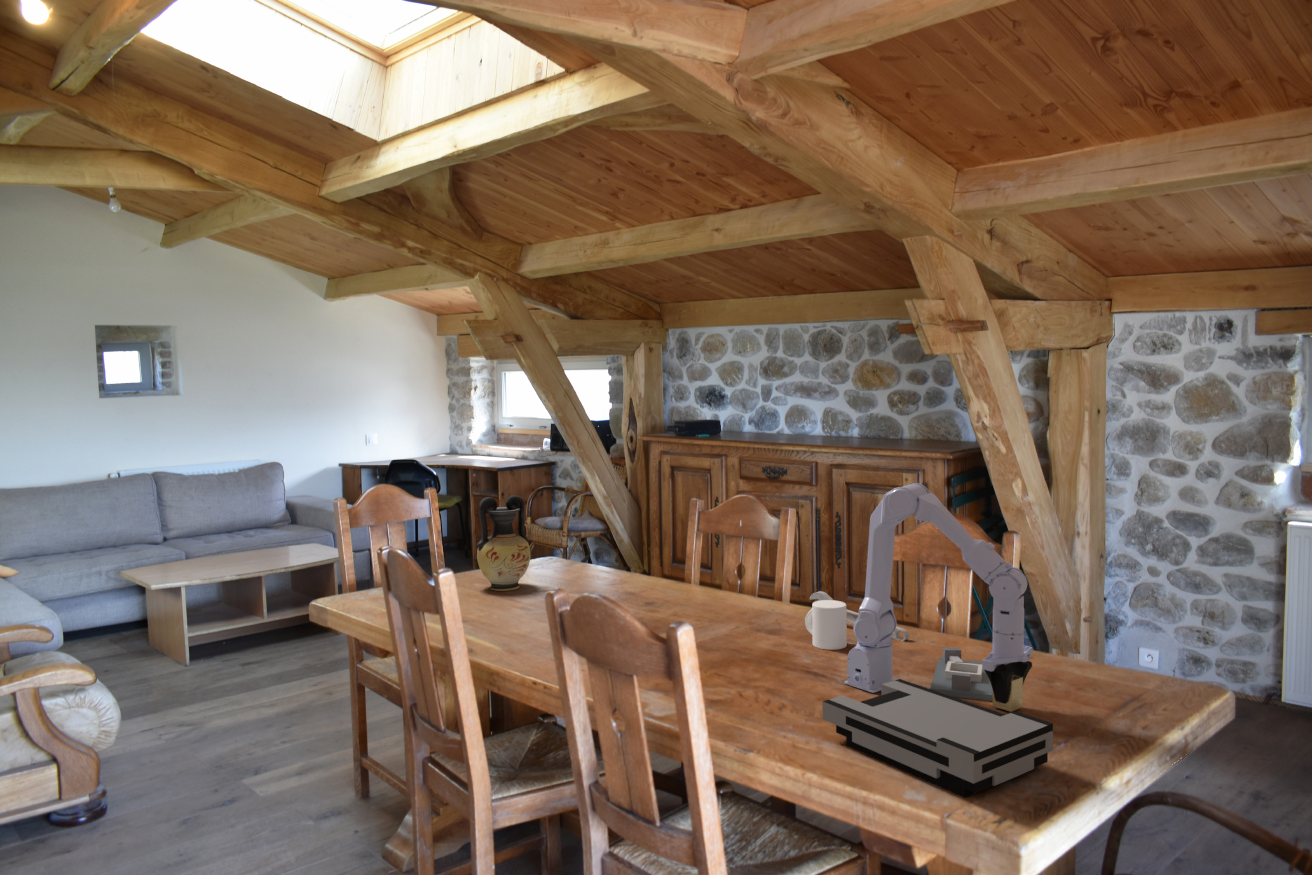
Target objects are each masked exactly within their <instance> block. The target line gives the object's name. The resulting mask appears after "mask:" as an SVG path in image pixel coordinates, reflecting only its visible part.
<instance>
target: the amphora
mask: <svg viewBox="0 0 1312 875" xmlns="http://www.w3.org/2000/svg"><path fill="white" fill-rule="evenodd" d="M517 512H518V514H517ZM478 513H479V514H478V516H479V521H480V530H481V538H480V540H479V541H478V542H477V543H476V548H477V552H476V559H477V564H478V566H479V570H480V571H481V573H482V575H483V576H484V578H486V579H487V581H489V583H490V585H491V586H490V590H493V591H497V592H500V591H501V592H506V591H515V590H517V589H519V588H520V586H521V585H520V583H519V581H520V580H521V578H522V577H524V575H525V574H526V572H527V570H528V568H529V565H530V562H531V548H530V545H529V538H528V537H527V536H526V535H525V501H524V499H523V498H522V497H521V496H520V495H515V494H513V495H510V496H509V497H507V498H506V500H505V506H502V507H498V501H497V500H496V499H495V497H491V496H487V497H484V498H482V499H481V501H480V502H479V504H478ZM486 514H488V517H489V519H490V521H492V524H493V531H492V533H491V534H490V536H489V534H488V533H489V531H488V524H487V523H488V522H487V515H486ZM516 517H517V534H516V533H515V531H514V526H513V523H514V522H513V521H514V520H515V518H516Z"/></svg>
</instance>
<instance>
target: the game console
mask: <svg viewBox="0 0 1312 875" xmlns="http://www.w3.org/2000/svg"><path fill="white" fill-rule="evenodd" d="M880 693H881V695H878V696H875V697H871V698H868V699H865V700H862V701H859V700H856V699H854V698H851V697H848V696H846V695H839V696H836V697H833V698H830V699H826V700H823V701H822V720H824V721H825V722H828V723H830V724H832V725H835V733H836V734H839V735H841V736H843V737H845V738H846V740H845V743H846V744H845V745H846V746H847V747H849V748H851V749H854V750H856V751H858V752H860V753H863V754H865V755H867V756H869V757H871V758H874V759H876V760H878V761H881V762H883V763H885V764H888V765H890V766H892V767H894V768H896V769H899V770H900V771H902V772H903V771H904V772H905V773H908V774H910V775H912V776H914V777H917V778H919V779H921V780H924V781H925V782H928V783H930V784H932V785H933V786H934V785H935V786H937V787H938V788H941V789H943V790H946V791H947V792H950V793H953V794H955V795H957V796H960V797H961V798H967V797H969V796H972V795H974V794H976V793H979V792H981V791H984V790H986V789H989V788H990V787H992V786H993V787H996V786H997V785H1000V784H1002V783H1004V782H1008V781H1009V780H1012V779H1014V778H1016V777H1019V776H1022V775H1024V774H1026V773H1028V772H1030V771H1032V770H1034V769H1035V768H1037V767H1039V766H1041V765H1043V764H1046V763H1048V757H1049V756H1048V753H1050V752H1053V745H1054V740H1053V739H1054V723H1052V722H1050V721H1046V720H1044V719H1040V718H1038V717H1034V716H1031V715H1029V714H1026V713H1022V712H1020V711H1017V710H1014V711H1012V712H1009V713H1007V714H1005V713H1002V712H999V711H997V710H996V711H995V710H993V709H990V708H987V707H984V706H981V705H979V704H975V703H973V702H969V701H966V700H963V699H961V698H959V697H952V696H949V695H946V694H943V693H940V692H937V691H934V690H931V689H930V688H927V687H925V686H923V685H922V686H921V685H918V684H916V683H913V682H910V681H907V680H905V679H901V678H899V679H898V678H897V679H895V680H894V681H891V682H887V683H884V684H881V691H880Z"/></svg>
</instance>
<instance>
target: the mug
mask: <svg viewBox="0 0 1312 875" xmlns="http://www.w3.org/2000/svg"><path fill="white" fill-rule="evenodd" d="M811 606H812V608H811V609H810V610H809V611H808V612H807V613H806V615H805V618H804V625H805V628H806V630H807V632H809V634H811V635H812V645H813V647H815V648H817V649H820V650H827V651H828V650H829V651H835V650H838V651H839V650H841V649H844V648H846V647H847V646H848V645H847V641H848V638H847V631H848V630H847V628H848V627H847V626H848V624H847V623H848V622H847V609H848V608H847V604H846V602H844V601H840V600H834V599H833V600H820V601H819V600H815V601H813V602H812V605H811Z"/></svg>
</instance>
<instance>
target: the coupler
mask: <svg viewBox="0 0 1312 875" xmlns="http://www.w3.org/2000/svg"><path fill="white" fill-rule="evenodd" d="M1023 689H1024V684H1023V677H1021V676H1017V675H1014V674H1013V676H1012V679H1011V682H1010V686H1009V695H1008V700H1007V703H1005V704H1004V703H1000V702H997V701H995V697H994V693H993V696H992V701H991V703H992V707H993V708H994V707H995V708H997V709H1000V710H1004V711H1006V712H1009V713H1012V712H1015V711H1017V710H1019V709H1022V708H1023V704H1024V703H1023V697H1024V696H1023V694H1024V693H1023V691H1024V690H1023Z"/></svg>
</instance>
